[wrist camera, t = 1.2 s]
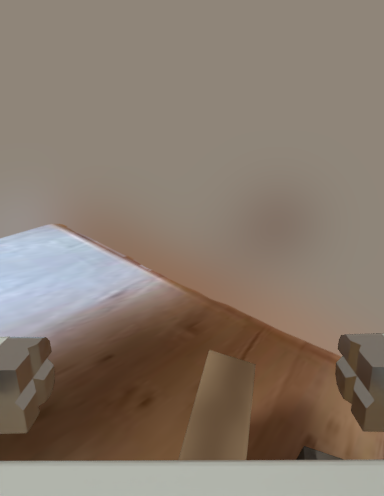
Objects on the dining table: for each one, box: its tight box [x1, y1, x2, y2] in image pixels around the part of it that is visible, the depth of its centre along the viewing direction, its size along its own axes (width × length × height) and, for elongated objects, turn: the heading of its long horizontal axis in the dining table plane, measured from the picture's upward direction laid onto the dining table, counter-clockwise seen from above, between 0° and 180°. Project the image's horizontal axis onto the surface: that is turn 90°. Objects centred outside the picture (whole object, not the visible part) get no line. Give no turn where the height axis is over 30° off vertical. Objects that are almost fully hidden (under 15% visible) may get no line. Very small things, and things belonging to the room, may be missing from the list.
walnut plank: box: [178, 350, 256, 460], centre depth 27 cm, size 4×10×14 cm, turn 166°
